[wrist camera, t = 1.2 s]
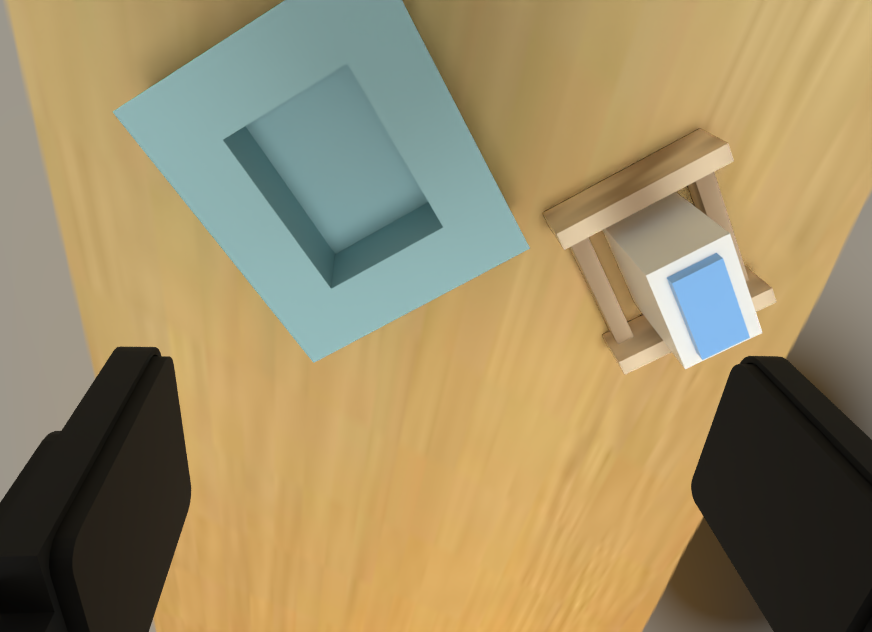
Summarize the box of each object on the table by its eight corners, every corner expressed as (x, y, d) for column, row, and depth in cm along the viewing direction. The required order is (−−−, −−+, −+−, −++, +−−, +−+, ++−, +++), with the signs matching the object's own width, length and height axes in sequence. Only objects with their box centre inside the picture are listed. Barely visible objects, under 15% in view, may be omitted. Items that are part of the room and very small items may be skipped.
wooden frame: (700, 128, 33) (728, 143, 30) (748, 278, 37) (776, 302, 35) (542, 212, 34) (556, 233, 32) (607, 346, 39) (624, 374, 36)
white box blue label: (666, 184, 34) (736, 238, 28) (698, 271, 37) (769, 339, 30) (597, 220, 35) (650, 281, 28) (634, 302, 38) (690, 376, 31)
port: (372, -55, 28) (372, -57, 23) (511, 214, 34) (531, 251, 30) (150, 88, 30) (112, 111, 25) (322, 316, 36) (315, 365, 32)
